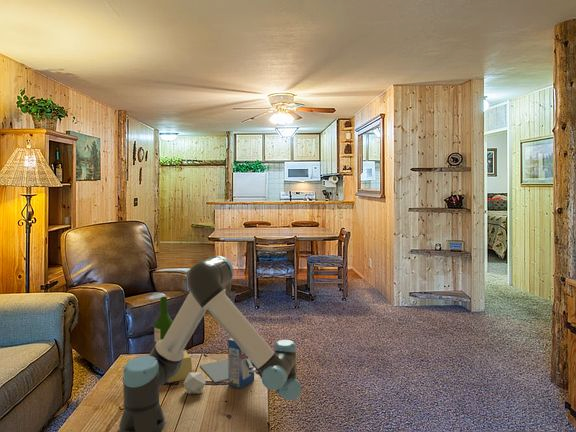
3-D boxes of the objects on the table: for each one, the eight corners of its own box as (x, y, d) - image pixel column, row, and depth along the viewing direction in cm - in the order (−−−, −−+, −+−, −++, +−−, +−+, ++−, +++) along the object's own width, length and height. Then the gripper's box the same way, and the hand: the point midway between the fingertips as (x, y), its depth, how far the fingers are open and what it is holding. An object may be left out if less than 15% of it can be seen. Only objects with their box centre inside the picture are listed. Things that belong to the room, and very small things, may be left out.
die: (194, 401, 171) (208, 378, 173) (176, 389, 172) (190, 367, 175) (198, 398, 179) (211, 377, 181) (181, 387, 180) (194, 366, 182)
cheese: (163, 374, 194) (162, 352, 193) (187, 369, 199) (187, 348, 198) (167, 383, 185) (166, 361, 184) (192, 379, 189) (192, 356, 188)
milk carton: (240, 389, 179) (239, 342, 178) (228, 385, 183) (227, 339, 181) (254, 380, 188) (254, 335, 186) (243, 376, 191) (242, 332, 190)
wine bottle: (151, 366, 202) (149, 298, 199) (167, 360, 209) (165, 294, 207) (163, 371, 196) (161, 301, 194) (178, 365, 204) (177, 297, 201)
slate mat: (214, 383, 185) (214, 381, 185) (199, 366, 202) (199, 365, 202) (253, 373, 194) (253, 372, 194) (235, 358, 211) (235, 357, 211)
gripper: (256, 388, 158) (232, 365, 179) (287, 380, 165) (260, 358, 185) (256, 368, 158) (232, 347, 178) (287, 361, 164) (260, 341, 185)
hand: (246, 353), depth 182 cm, fingers closed
